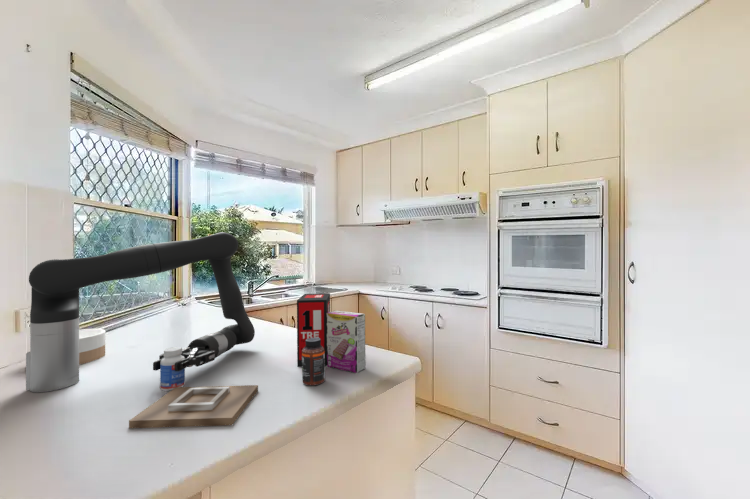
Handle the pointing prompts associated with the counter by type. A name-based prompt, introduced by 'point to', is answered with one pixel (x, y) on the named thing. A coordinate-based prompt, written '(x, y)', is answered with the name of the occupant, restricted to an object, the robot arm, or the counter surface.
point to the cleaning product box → (312, 321)
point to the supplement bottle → (313, 362)
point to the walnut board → (196, 407)
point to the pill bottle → (171, 369)
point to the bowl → (91, 345)
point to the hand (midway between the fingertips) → (165, 366)
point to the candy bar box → (346, 341)
